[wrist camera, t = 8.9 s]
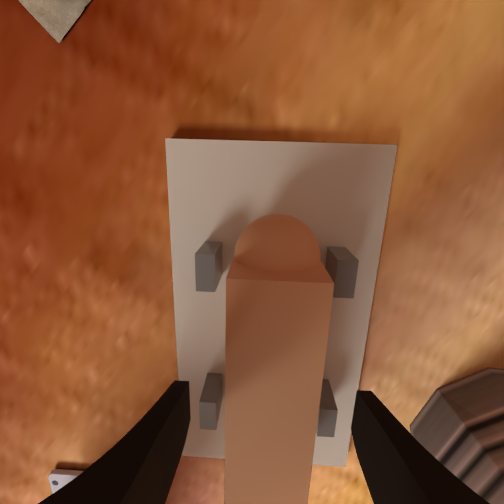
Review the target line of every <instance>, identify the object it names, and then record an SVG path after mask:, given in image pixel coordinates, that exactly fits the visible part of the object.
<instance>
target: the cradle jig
mask: <svg viewBox="0 0 504 504" xmlns="http://www.w3.org/2000/svg"><path fill="white" fill-rule="evenodd" d="M165 142H166V161H167V180H168V198H169V217H170V236H171V255H172V274H173V292H174V311H175V330H176V349H177V368H178V381H189V389H190V415H191V420H190V424H189V429H188V433H187V437H186V442H185V446H184V449H183V452H182V456H189V457H204V458H219V459H225V330H226V277H227V274H228V271H229V268H230V266H231V263H232V260H233V257H234V252H235V246H236V243H237V240H238V238H239V236H240V234H241V233H242V232H243V230H244V229H245V228H246V227H247V226H248V225H249V224H250V223H251V222H253V221H254V220H256V219H258V218H260V217H262V216H266V215H270V214H285V215H289V216H292V217H295V218H297V219H298V220H300V221H302V222H303V223H304V224H306V225H307V226H308V227H309V228H310V229H311V231H312V232H313V234H314V235H315V237H316V239H317V242H318V244H319V248H320V260H321V262H322V264H323V265H324V267H325V269H326V270H327V272H328V274H329V275H330V277H331V279H332V280H333V282H334V291H333V299H332V307H331V316H330V324H329V332H328V340H327V348H326V357H325V365H324V373H323V381H322V389H321V397H320V406H319V414H318V422H317V430H316V438H315V447H314V455H313V463H312V465H324V466H340V467H346V462H347V456H348V449H349V443H350V437H351V424H352V418H353V411H354V405H355V399H356V392H357V390H358V388H359V381H360V375H361V369H362V363H363V357H364V350H365V344H366V338H367V332H368V326H369V320H370V313H371V307H372V301H373V295H374V289H375V282H376V276H377V270H378V264H379V258H380V251H381V245H382V239H383V233H384V227H385V221H386V214H387V208H388V202H389V196H390V190H391V183H392V177H393V171H394V165H395V159H396V153H397V146H398V145H395V144H357V143H319V142H281V141H243V140H206V139H168V138H165Z"/></svg>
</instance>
